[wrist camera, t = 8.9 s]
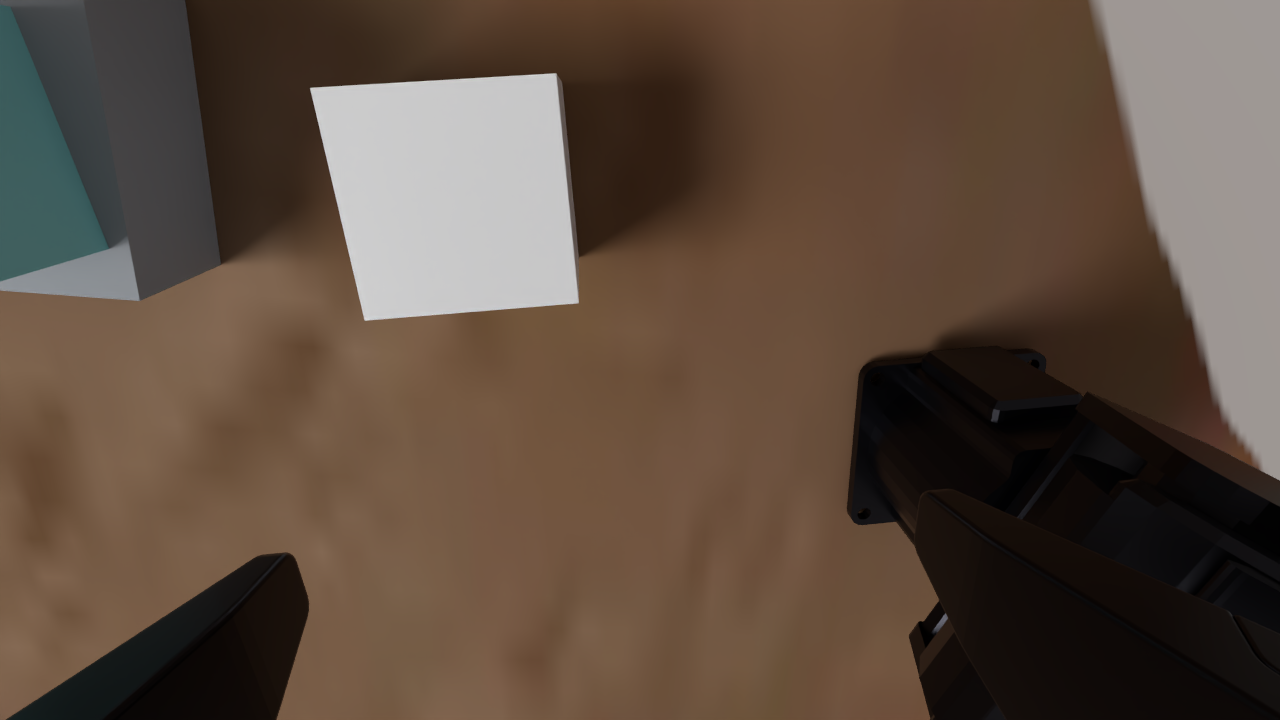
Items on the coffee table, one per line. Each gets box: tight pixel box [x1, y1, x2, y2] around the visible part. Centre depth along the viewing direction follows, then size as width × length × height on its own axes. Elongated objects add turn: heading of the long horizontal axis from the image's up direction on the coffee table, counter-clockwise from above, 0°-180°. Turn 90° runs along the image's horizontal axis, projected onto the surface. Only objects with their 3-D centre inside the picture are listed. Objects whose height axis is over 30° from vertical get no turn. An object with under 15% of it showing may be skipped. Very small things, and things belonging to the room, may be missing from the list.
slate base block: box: [0, 0, 221, 301], centre depth 15 cm, size 7×7×4 cm
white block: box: [310, 73, 579, 320], centre depth 16 cm, size 5×5×5 cm
